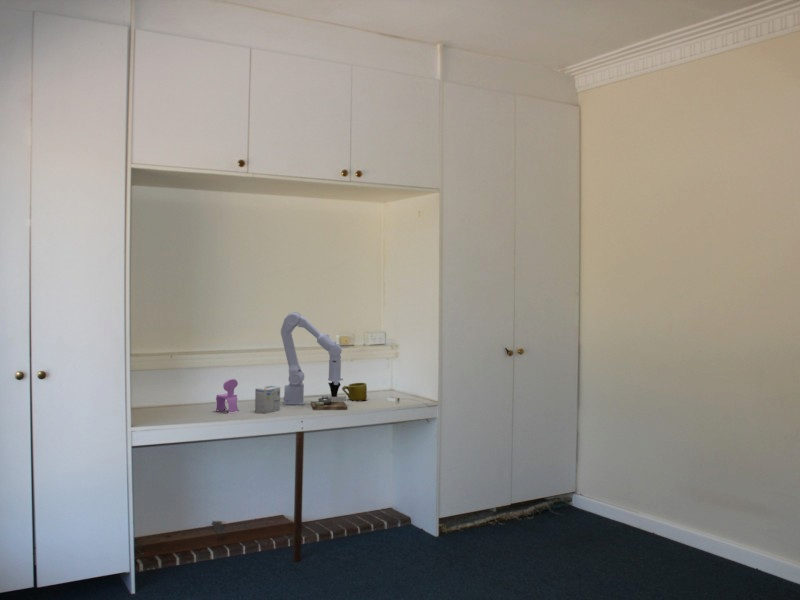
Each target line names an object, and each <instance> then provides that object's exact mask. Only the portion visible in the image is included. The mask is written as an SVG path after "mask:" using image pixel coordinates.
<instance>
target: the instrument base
mask: <svg viewBox="0 0 800 600" xmlns="http://www.w3.org/2000/svg"><path fill="white" fill-rule="evenodd" d="M318 401H319V400H318ZM318 401H317V400H316V401H310V406H311V408H312V410H313V411H325V410H326V411H339V410H342V411H344V410H345V411H348V405H347V404H346V401H331V404H326V405H324V402H318Z"/></svg>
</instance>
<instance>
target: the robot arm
mask: <svg viewBox="0 0 800 600" xmlns="http://www.w3.org/2000/svg"><path fill="white" fill-rule="evenodd" d="M296 327H298V328H303V329H305V330H306V331H308V332H309V333H310V334H311V335H313V337H314V338H316V342H317V343H318V345H319V346H320V347H321V348H323V349H324V350H325V351H326V352H328V354H329V360H328V378H327V380H328V381H329V382H328V386H329V389H330V395H331V396H338V393H339V389H340V387H341V382H342V381H344V379H343V378H341V370H342V361H341V360H342V356H341V354H342V351H343V350H342V347H341V345H340V344H337V342H336V341H334V340H333V339H332V338H331V337H330V335H329V334H326V333H321V331H320V330H318V329H317V328H316V327H315V326H314V324H312V322H310V320H308V319H307V318H306V317H305V316H303V315H301V313H299V312H297V311H294V312H292V313H288V314H287V316H286V317H285V318H284V319H283V323H282V326H281V328H280V335H281V339H282V340H281V341H282V343H283V348H284V352H285V356H286V361H287V365H288V382H289V383H288V384H286V385H284V387H283V388H284V389H283V390H284V394H283V395H284V396H283V403H284V405H285V406H286V405H288V406H290V405H293V406H295V405H300V406H301V405H305V401H304V395H305V394H304V392H305V389H304V388H305V387H304V385H305V384H304V383H303V381H304V380H305V374H304V372H303V370H302V369H301V366H300V364H299V360H298V357H297V356H298V355H297V351H296V348H295V347H296V346H295V342H294V339H293V335H292V333H293V331H294V330H295V328H296Z"/></svg>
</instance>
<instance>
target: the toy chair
mask: <svg viewBox="0 0 800 600" xmlns="http://www.w3.org/2000/svg"><path fill="white" fill-rule="evenodd" d="M238 385H239V382H238V380H237V379H236V378H230V379H227V380H226V381H225V382H224V383H223V385H222V386H223V389H224V391H226V393H221V394H216V397H215V400H216V409H215V411H216V410H221V411H224V410H223V409H226V410H228V412H227V414H228V413H229V412H235V411H239V412H240V410H239V408H238V394H235V389H236V388H237V386H238ZM226 402H227V404H228V408H227V405H226ZM235 413H236V412H235ZM229 414H230V413H229Z"/></svg>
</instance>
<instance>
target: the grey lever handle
mask: <svg viewBox="0 0 800 600" xmlns="http://www.w3.org/2000/svg"><path fill="white" fill-rule="evenodd" d="M331 401H344V402H346V401H347V395H346V396H343V395H341V396H339V395H337V396H327V395H323V396H321V397H319V398H318V402H324V405H326V404H331Z"/></svg>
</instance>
